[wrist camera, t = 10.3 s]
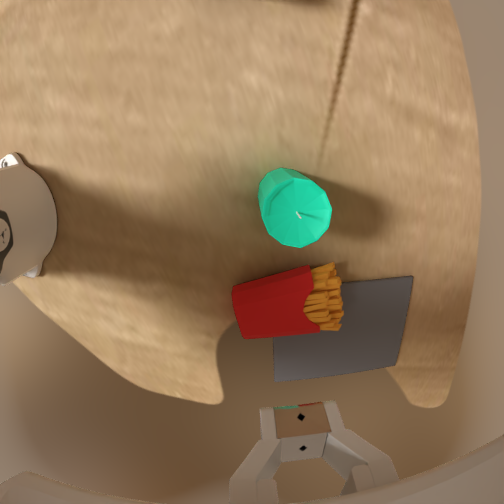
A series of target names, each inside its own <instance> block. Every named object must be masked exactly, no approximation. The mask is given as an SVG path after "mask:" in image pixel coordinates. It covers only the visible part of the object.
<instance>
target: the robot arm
mask: <svg viewBox="0 0 504 504" xmlns="http://www.w3.org/2000/svg"><path fill="white" fill-rule="evenodd" d="M7 163H8V166H7ZM56 232H57V214H56V208H55V204H54V200H53V197H52V195H51V192H50V190H49V188H48V186H47V185H46V183H45V182H44V180H43V179H42V178H41V177H40V176H39V175H38V174H37V173H36V172H35V171H33V170H31V169H30V168H28V167H27V166H26V165H24V163H23V161H22V160H21V158H20V157H19V155H18V154H17V153H15V152H13V153H10V154H8V155H6V156H5V157H4V158H2V159H1V160H0V284H1V285H3V286H5V285H7V284H9V283H11V282H12V281H14V280H16V279H17V278H19V277H21V276H27V277H31V278H34V277H36V276H38V275H39V274H40V272H41V268H42V263H43V260H44V258H45V257H46V256H47V254H48V253H49V252H50V250H51V248H52V246H53V244H54V241H55V237H56ZM260 422H261V423H260V424H261V440H259V441H258V442H257V444H256V445H255V446H254V448H253V449H252V451H251V452H250V453H249V455H248V456H247V457H246V459H245V460H244V461H243V463H242V464H241V465H240V467H239V468H238V469H237V471H236V472H235V473H234V475H233V476H232V477H231V479H230V486H229V487H230V488H229V490H230V491H229V504H279V503H278V495H277V487H276V481H275V480H273V479H272V477H273V476H274V474H275V472H276V470H277V469H278V467H279V465H280V463H281V462H288V461H295V460H303V459H312V458H320V457H322V458H323V459H324V460H325V461H326V462H327V463H328V464H329V465H330V466H331V467H332V468H333V469H334V470H335V471H336V472H337V473H339V474H340V475H341V476H342V477H343V478H344V479H345V480H346V483H345V485H344V487H343V489H342V491H341V494H340V496H337V497H332V498H326V499H320V500H314V501H307V502H300V503H292V504H504V435H502V436H500V437H498V438H496V439H495V440H493V441H491V442H489V443H487V444H485V445H483V446H481V447H480V448H478V449H476V450H474V451H472V452H469V453H468V454H465V455H463V456H461V457H459V458H457V459H454V460H452V461H450V462H448V463H446V464H443V465H440V466H438V467H436V468H433V469H430V470H428V471H425V472H422V473H420V474H417V475H414V476H411V477H409V478H406V479H402V480H399V478H398V476H397V473H396V471H395V468H394V466H393V463H392V461H391V458H390V457H389V456H388V455H386V454H385V453H383V452H382V451H380V450H379V449H377V448H376V447H374V446H373V445H371V444H370V443H368V442H366V441H365V440H364V439H363V438H361V437H359V436H358V435H357V434H355V433H354V432H352V431H351V430H350V429H345V427H344V424H343V421H342V418H341V415H340V412H339V409H338V406H337V403H336V401H335V400H332V401H325V402H317V403H310V404H302V405H297V406H284V407H269V408H260ZM0 504H161V503H153V502H146V501H139V500H132V499H127V498H121V497H116V496H112V495H107V494H102V493H98V492H94V491H90V490H86V489H82V488H79V487H75V486H72V485H68V484H65V483H62V482H59V481H55V480H53V479H49V478H47V477H44V476H41V475H39V474H36V473H33V472H29V471H25V472H22V473H19V474H17V475H15V476H13V477H11V478H9V479H8V480H6V481H4V482H2V483H1V484H0Z"/></svg>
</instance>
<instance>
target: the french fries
mask: <svg viewBox="0 0 504 504" xmlns="http://www.w3.org/2000/svg"><path fill="white" fill-rule="evenodd" d="M334 268H335V264H334V262H332V263H329V264H326V265H323V266H320V267H317V268H314V269H311V270H310V266H309V265H306V266H302V267H299V268H296V269H292V270H289V271H285V272H282V273H278V274H275V275H271V276H268V277H264V278H261V279H257V280H254V281H250V282H246V283H243V284H239V285H236V286H233V290H232V301H233V308H234V311H235V315H236V318H237V322H238V324H239V328H240V331H241V334H242V337H243V338H244V339H255V338H268V337H280V336H291V335H301V334H310V333H319V332H320V330H331V331H339V329H340V327H341V325H342V324H338V323H339V322H340V320H341V317H342V316H343V315H344V310H343V311H341V310H342V306H343V301H342V297H340V292H341V290H340V286H341V280H340V277H338V276H336V274H337V272H336V269H334ZM333 269H334V270H333ZM335 276H336V277H335ZM341 301H342V302H341Z"/></svg>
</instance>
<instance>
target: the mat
mask: <svg viewBox="0 0 504 504" xmlns="http://www.w3.org/2000/svg"><path fill="white" fill-rule="evenodd" d="M412 282H413V277H412V276H405V277H395V278H386V279H376V280H366V281H356V282H345V283H341V286H340V290H341V292H340V297H342V301H343V306H342V310H341V311H343V310H344V315H343V316H342V317H341V320H340V322H339V323H338V324H342V325H341V327H340V329H339V331H331V330H320V332H319V333H310V334H301V335H291V336H280V337H273V352H274V381H275V382H279V381H291V380H301V379H310V378H319V377H327V376H335V375H342V374H349V373H355V372H361V371H367V370H373V369H379V368H384V367H389V366H394V365H396V361H397V357H398V353H399V348H400V344H401V340H402V335H403V331H404V326H405V321H406V316H407V311H408V306H409V300H410V294H411V288H412ZM342 301H341V302H342Z"/></svg>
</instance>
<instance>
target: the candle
mask: <svg viewBox="0 0 504 504" xmlns="http://www.w3.org/2000/svg"><path fill="white" fill-rule="evenodd" d="M258 200H259V206H260V211H261V217H262V220H263V222H264V224H265V227H266V229H267V231H268V234H270V235H271V236H272V237H273V238H275V239H276V240H277V241H279V242H280V243H281V244H282V245H287V246H292V247H298V248H302V247H304V246H307V245H309V244H311V243H313V242H316V241H317V240H318V239H319V238H320V237H321V236H322V235H323V234H324V232H325V231H326V230H327V229H328V228H329V224H330V219H331V213H332V208H331V205H330V202H329V200H328V197H327V195H326V192H325V191H324V190H323V189H321V188H320V187H319V186H318V185H317V184H316V183H314V182H313V181H312V180H310V179H309V178H307V177H305V176H304V175H302V174H300V173H299V172H297V171H295V170H293V169H286V168H279V169H276V170H273V171H271V172H268V173H267V174H266V176H265V177H264V178H263V180H262V181H261V182H260V184H259V191H258Z"/></svg>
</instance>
